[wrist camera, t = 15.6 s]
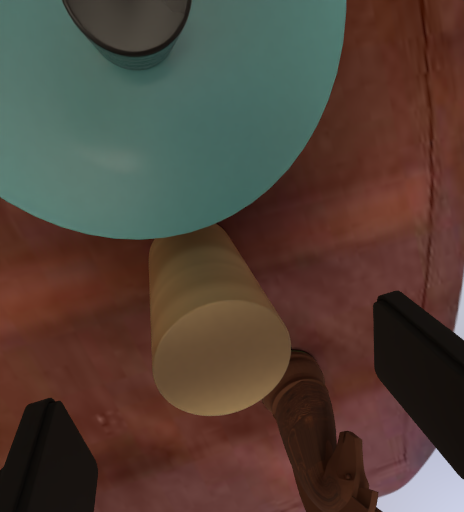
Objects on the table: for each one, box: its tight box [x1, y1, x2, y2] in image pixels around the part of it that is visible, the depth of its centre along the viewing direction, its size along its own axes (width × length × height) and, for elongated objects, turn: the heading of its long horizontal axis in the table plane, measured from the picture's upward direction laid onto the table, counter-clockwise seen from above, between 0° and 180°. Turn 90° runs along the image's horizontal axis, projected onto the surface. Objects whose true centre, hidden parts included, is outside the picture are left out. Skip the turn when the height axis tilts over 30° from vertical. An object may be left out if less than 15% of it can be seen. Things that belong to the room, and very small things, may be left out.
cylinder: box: [149, 223, 291, 416], centre depth 16 cm, size 5×5×9 cm
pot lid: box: [0, 0, 346, 240], centre depth 8 cm, size 11×11×4 cm
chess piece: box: [262, 351, 382, 512], centre depth 21 cm, size 5×5×10 cm
